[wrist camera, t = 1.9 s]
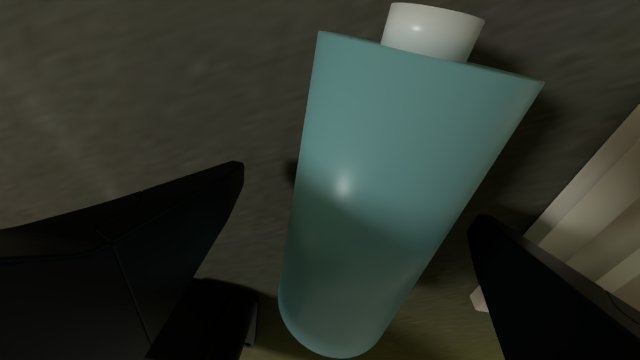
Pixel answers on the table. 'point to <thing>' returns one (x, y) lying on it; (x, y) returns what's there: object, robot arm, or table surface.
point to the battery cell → (387, 169)
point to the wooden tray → (598, 218)
